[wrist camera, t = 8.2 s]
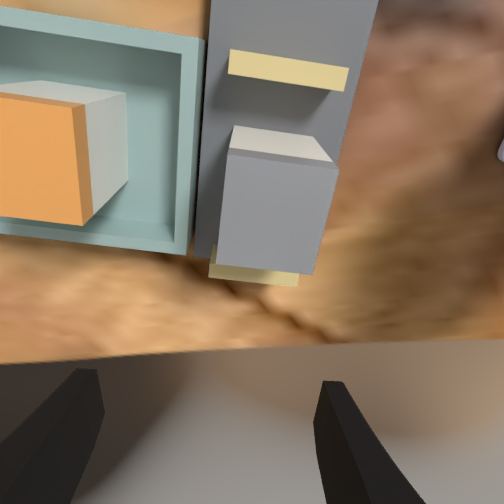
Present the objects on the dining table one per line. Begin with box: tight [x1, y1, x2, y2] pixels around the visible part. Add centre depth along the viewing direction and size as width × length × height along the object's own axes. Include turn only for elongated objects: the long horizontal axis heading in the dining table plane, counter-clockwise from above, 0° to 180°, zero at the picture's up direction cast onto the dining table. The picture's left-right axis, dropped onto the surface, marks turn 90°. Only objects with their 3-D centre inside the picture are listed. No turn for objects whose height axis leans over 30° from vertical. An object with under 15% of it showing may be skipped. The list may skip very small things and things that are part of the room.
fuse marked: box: [0, 80, 128, 226], centre depth 14 cm, size 4×4×6 cm
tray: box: [0, 6, 206, 255], centre depth 16 cm, size 10×9×2 cm
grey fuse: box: [216, 125, 339, 275], centre depth 15 cm, size 4×4×6 cm
